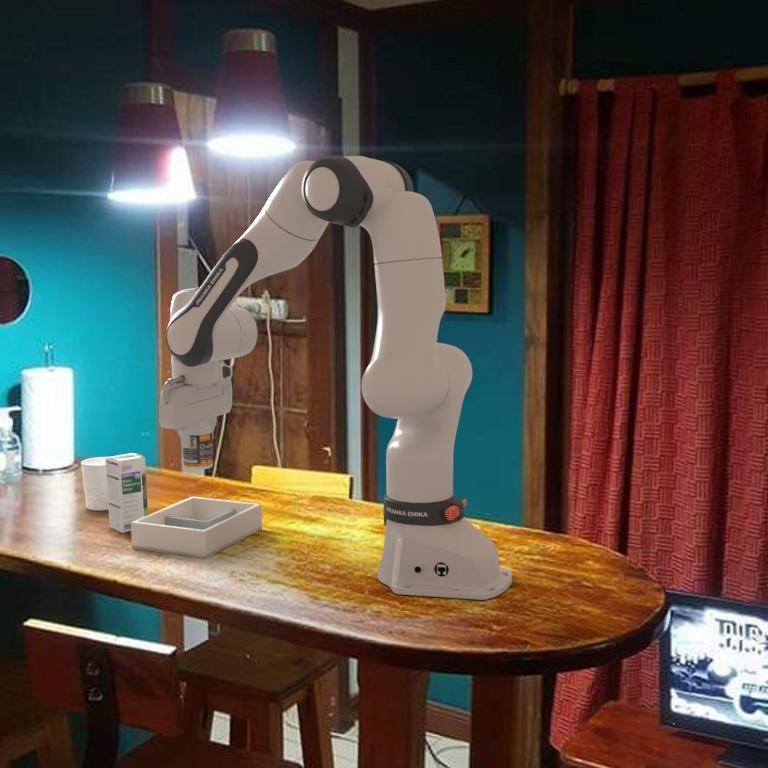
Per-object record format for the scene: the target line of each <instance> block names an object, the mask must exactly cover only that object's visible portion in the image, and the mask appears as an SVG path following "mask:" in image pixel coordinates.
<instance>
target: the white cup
mask: <svg viewBox="0 0 768 768" xmlns="http://www.w3.org/2000/svg"><path fill="white" fill-rule="evenodd" d="M106 457H107V456H99V457H98V456H97V457H90V458H86V459H83V460H82V461H81V472H82V473H81V474H82V485H83V493H84V497H85V507H86V509H87V510H90V511H96V512H99V511H109V506H108V490H107V474H106Z"/></svg>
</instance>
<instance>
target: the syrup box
mask: <svg viewBox="0 0 768 768" xmlns="http://www.w3.org/2000/svg"><path fill="white" fill-rule="evenodd" d="M105 457H106V474H107V490H108V506H109V510H108V519H109V528H111V529H113V530H115V531H117V532H119V533H121V534H125V533H128V532H131V522H133V521H135V520H138V519H140V518H142V517H145V516H147V515H149V508H148V491H147V490H148V487H147V471H146V470H147V469H146V468H147V467H146V457H145V456H143V455H142V454H139V453H133V452H129V453H125V454H118V455H114V456H105Z"/></svg>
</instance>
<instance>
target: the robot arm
mask: <svg viewBox="0 0 768 768" xmlns="http://www.w3.org/2000/svg"><path fill="white" fill-rule="evenodd" d="M436 220H437V219H436V218H435V214H434V210H433V206H432V204H431V203H430V201H429V199H428V198H427V197H425V196H424V195H422V194H420V193H418V192H415V191H414V185H413V181H412V179H411V177H410V175H409V173H408V172H407V171H406V170H405V169H404V168H402V166H400V165H398V164H397V163H394V162H392V161H389V160H384V159H383V160H381V159H380V160H378V159H376V158H370V157H366V156H362V155H346V156H345V155H344V156H342V155H329V156H326V157H322V158H320V159H317V160H316V161H314V160H302V161H299V162H297V163H295V164H294V165H292V166H291V168H290V169H289V170H288V171H287V172H286V173H285V175H283V176H282V178H281V180H280V181H279V183H278V184H277V185H276V186H275V187H274V190H273V191H272V192H271V194H270V196H269V197H268V198H267V200H266V202H265V204H264V205H263V207H262V209H261V211H260V212H259V214H258V215H257V217H256V218H255V219H254V221H253V222H252V224H250V226H249V227H248V228H247V230H246V231H244V233H243V234H242V235H241V236H240V238H238V239H237V240H236V241H235V242H234V243H233V244H232V245H231V246H230V247H229V248H228V249H227V250H226V251H225V253H224V254H223V255H222V257H220V259H219V260H218V262H217V263H216V265H214V267H213V268H212V270H211V271H210V273H209V274H208V276H207V277H206V279H205V280H204V281H203V283H202V284H201V285H200V287H194V288H193V287H192V288H186V289H182V290H178V291H177V292H176V293H175V294H173V296H172V298H171V299H172V300H171V304H170V310H169V312H170V313H169V323H168V324H167V326H166V327H167V328H166V333H165V342H166V346H167V348H168V350H169V353H170V354H171V355H170V357H171V358H170V360H171V362H170V365H171V378H168V379H167V380H166V382H165V383H164V385H163V386H162V389H161V392H160V397H159V406H158V423H159V425H160V426H161V428H163V429H170V430H176V432H177V434H178V436H179V438H180V446H181V448H182V449H183V448H189V447H192V446H193V438H191V437H190V434H189V431H188V430H190V424H193V423H197V422H199V421H200V420H201V419H202V418H206V417H209V424H208V427H210V428H211V430H212V441H213V440H214V431H215V428H216V426H217V423H218V420H217V419H218V416H222V415H226V414H229V413H230V412H231V410H232V406H233V383H232V380H231V379H230V378H232V377H233V367H232V365H231V366H230V365H229V364H228V365H227V364H225V363H223V362H221V361H225V360H230V359H235V358H240V357H241V358H242V357H244V356H246V355H249V354H251V353H252V352H253V351H254V349H255V348H256V346H257V344H258V340H259V332H260V331H259V325H258V321H257V319H256V318H255V316H254V315H253V313H252V312H251V311H249V310H248V309H247V308H245V307H239V306H237V305H234V303H235V301H236V300H237V299H238V297H239V295H241V293H242V292H243V291H244V290H245V289H246V288H248V287H249V286H251V285H252V284H254V283H256V282H258V281H260V280H262V279H265V278H268V277H270V276H273V275H276V274H279V273H282V272H285V271H290V270H291V269H294V268H296V267H297V266H299V265H300V264H302V262H303V261H304V260H306V258H308V256H309V255H310V254H311V253H312V251H313V250H314V249H315V248H316V245H317V244H318V243H319V240H320V239H321V237H322V235H323V234H324V232H325V230H326V228H327V226H328V225H329V224H335V225H340V226H344V227H348V228H351V229H352V228H353V229H355V228H357V227H358V226H360V227H362V228H364V229H365V230H366V231H367V233H368V234H369V236H370V240H371V244H372V253H373V264H374V266H373V267H374V276H375V285H376V286H375V287H376V290H375V291H376V302H377V323H376V330H375V331H376V332H375V337H374V343H373V349H372V355H371V358H370V361H369V364H368V366H367V367H366V369H365V371H364V373H363V375H362V379H361V394H362V397H363V399H364V402H365V403H366V406H367V407H368V408H369V409H370V410H371V411H372V412H373V413H375V414H376V415H378V416H380V417H383V418H387V419H397V421H396V425H395V428H394V431H393V435H392V437H391V439H390V440H389V442H388V444H387V448H386V452H385V455H386V456H385V459H386V460H385V464H386V465H385V466H386V467H385V468H386V469H385V471H386V472H385V473H386V474H385V475H386V476H385V478H386V480H385V482H386V483H385V484H386V488H385V489H386V492H385V494H384V495H383V506H382V507H383V510H382V511H383V513H382V514H383V524H384V527H385V529H384V531H385V532H384V542H383V549H382V553H381V560H380V564H379V569H378V571H377V575H376V576H377V580H379V582H380V583H382V584H384V585H385V586H387V587H390V589H391V591H392V592H393V593H394V594H396V595H406V596H420V597H423V596H424V597H436V598H437V597H438V598H448V599H449V598H450V599H463V600H464V599H466V600H482V601H485V600H489V599H493V598H495V597H497V596H500V595H502V594H503V593H504V592H506V590H508V588H510V586H511V585H512V583H513V573H512V571H511V570H510V569H509V568H505V567H502V566H500V562H499V555H498V551H497V547H496V545H495V543H494V541H493V540H492V539H491V538H489V537H488V536H487V535H485V534H484V533H483V532H482V531H480V530H479V529H478V528H477V527H476V526H474V524H472V523H471V522H470V521H469V520H468V519H466V518H465V517H464V515H465V507H466V506H467V499H466V498H464V499H463V500H462V501H461V500H460V499H459V498H458V497H457V496H456V495H455V493H454V451H455V449H454V448H455V441H456V436H457V432H458V431H457V430H458V427H459V421H460V417H461V412H462V409H463V408H462V407H463V404H464V403H463V402H464V399H465V396H466V393H467V391H468V389H469V387H470V386H471V383H472V380H473V367H472V366H473V365H472V363H471V361H470V359H469V357H468V356H467V355H466V353H465V352H464V351H463V350H462V349H460V348H458V347H457V346H455V345H451V344H447V343H443V342H442V343H441V342H438V333H439V328H440V323H441V319H442V317H443V315H444V313H445V311H446V310H445V309H446V306H447V297H446V288H445V275H444V266H443V254H442V246H441V240H440V234H439V230H438V225H437V221H436Z"/></svg>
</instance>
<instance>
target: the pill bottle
mask: <svg viewBox="0 0 768 768" xmlns="http://www.w3.org/2000/svg"><path fill="white" fill-rule="evenodd" d="M208 424H209V417H206V418H202V419H201V420H200V421H199V422H197V423H193V424H190V430H188V431H189V434H190V437H191V438H193V446H192V447H189V448H183V447H182V463H183V464H182V465H183V468H184V469H186V470H189V471H191V470H192V471H202V470H208V469H211V468H212V467H213V466H214V449H213V448H214V447H213V446H214V443H213V440H212V430H211V428H210V427H208Z"/></svg>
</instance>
